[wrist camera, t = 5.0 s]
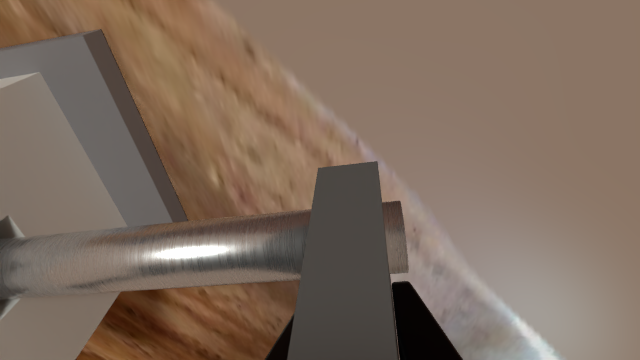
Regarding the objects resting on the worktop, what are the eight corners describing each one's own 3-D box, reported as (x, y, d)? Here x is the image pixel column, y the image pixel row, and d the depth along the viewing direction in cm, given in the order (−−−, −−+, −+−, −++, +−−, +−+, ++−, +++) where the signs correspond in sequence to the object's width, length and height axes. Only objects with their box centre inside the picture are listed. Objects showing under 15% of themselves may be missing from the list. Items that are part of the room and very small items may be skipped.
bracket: (114, 257, 22) (-21, 437, 14) (-15, 51, 16) (-385, 162, 8) (201, 250, 21) (109, 437, 13) (100, 29, 15) (-186, 129, 7)
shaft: (-53, 303, 16) (-298, 520, 10) (-152, 206, 13) (-564, 424, 7) (405, 273, 13) (448, 560, 7) (394, 140, 10) (448, 420, 4)
